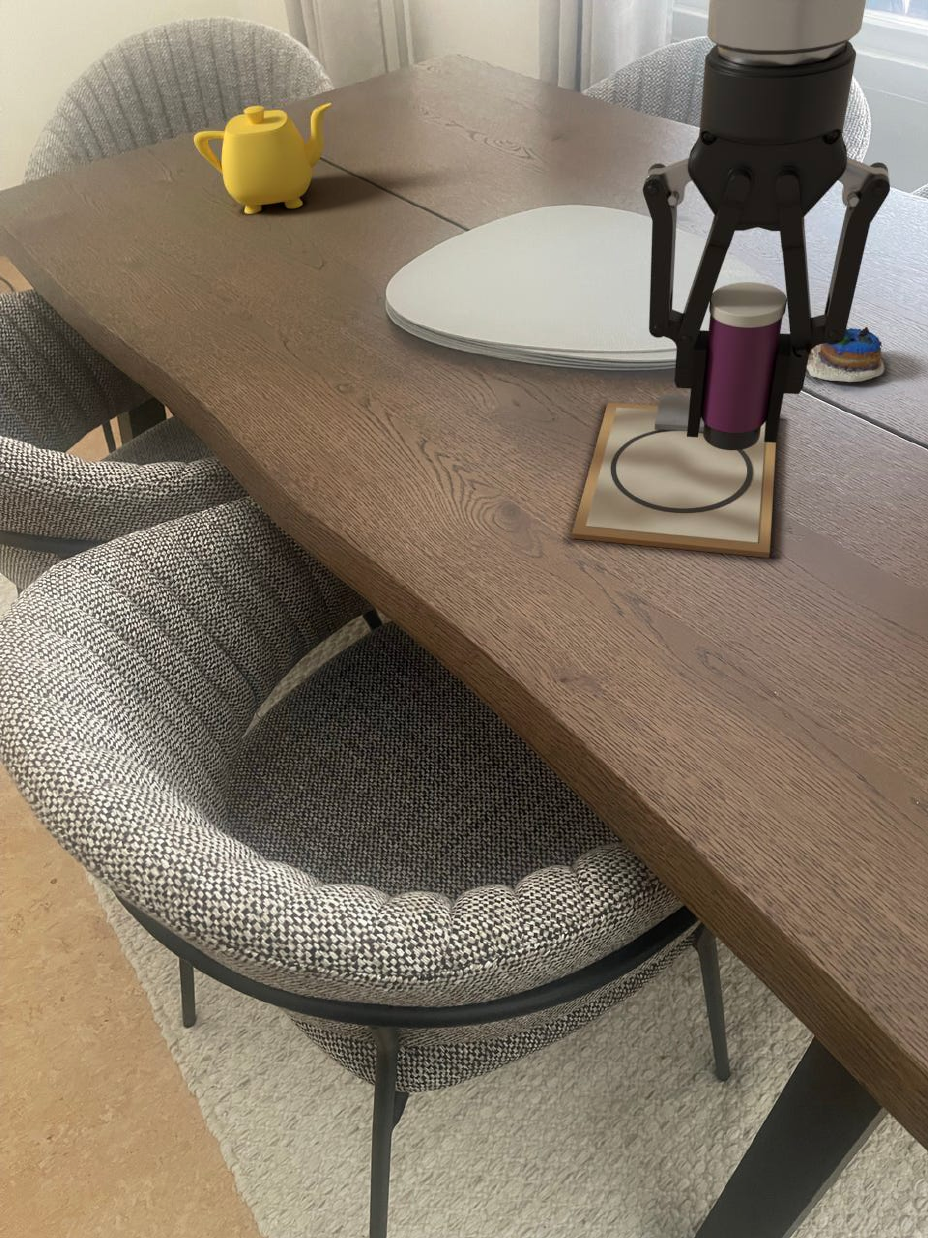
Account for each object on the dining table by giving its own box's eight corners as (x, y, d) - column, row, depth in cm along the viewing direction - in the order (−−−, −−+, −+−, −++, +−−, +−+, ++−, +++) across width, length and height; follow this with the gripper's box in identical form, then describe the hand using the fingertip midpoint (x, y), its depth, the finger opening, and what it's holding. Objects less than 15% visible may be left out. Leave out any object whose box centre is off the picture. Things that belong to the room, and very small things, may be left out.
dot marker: (764, 456, 63) (786, 317, 56) (694, 451, 64) (707, 314, 57) (766, 419, 66) (788, 282, 59) (699, 415, 67) (712, 280, 60)
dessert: (905, 355, 92) (893, 323, 88) (867, 412, 93) (853, 383, 88) (834, 334, 97) (818, 303, 93) (798, 389, 98) (781, 360, 93)
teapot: (346, 207, 133) (330, 113, 125) (208, 225, 133) (181, 132, 125) (346, 173, 143) (331, 83, 134) (216, 189, 143) (192, 101, 134)
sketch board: (768, 558, 75) (771, 545, 74) (572, 538, 79) (571, 525, 78) (777, 414, 89) (779, 401, 88) (608, 403, 93) (609, 390, 92)
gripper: (958, 16, 48) (865, 406, 65) (621, 29, 53) (613, 392, 69) (974, 58, 43) (869, 470, 60) (600, 69, 48) (597, 450, 64)
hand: (732, 427), depth 64 cm, fingers closed on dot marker, 4 cm apart
